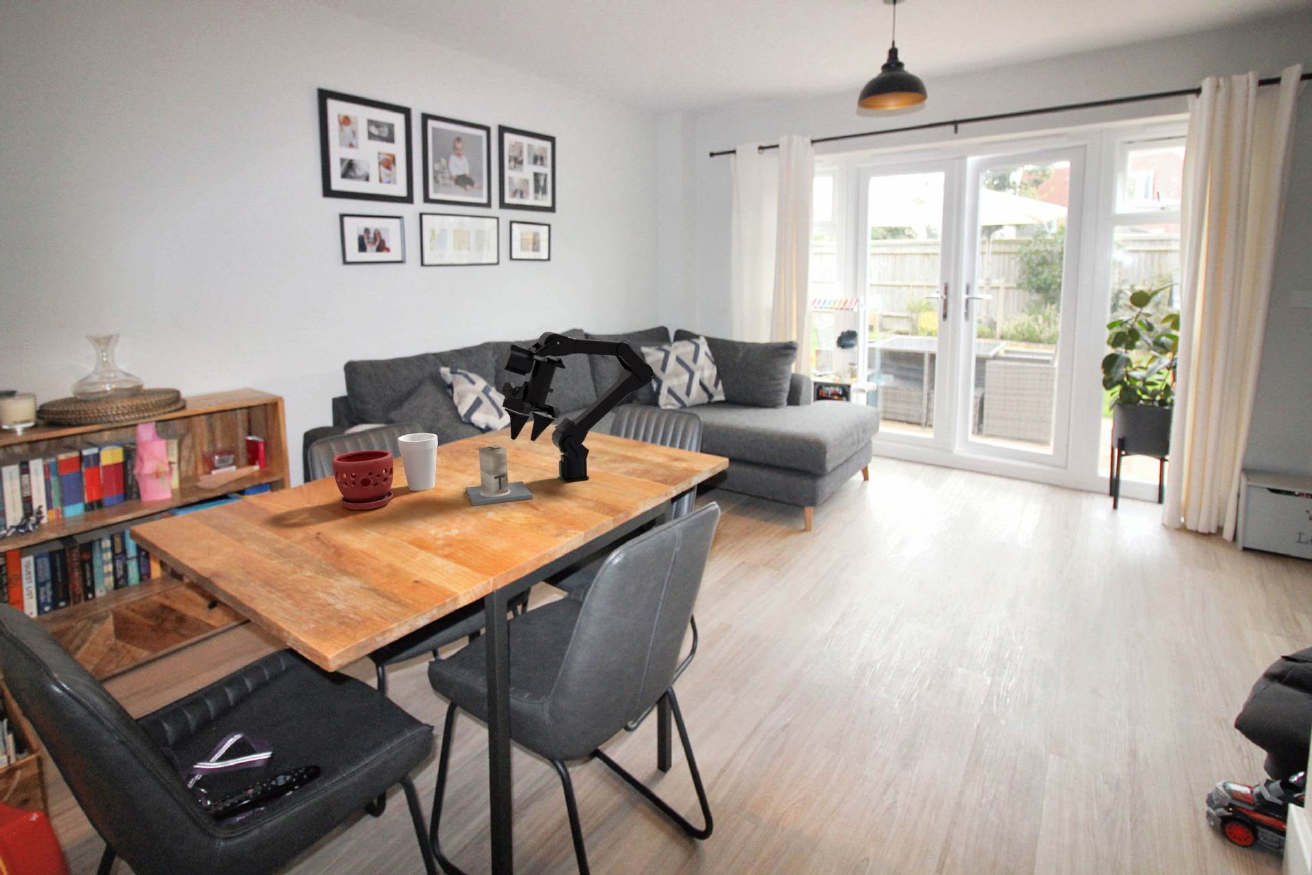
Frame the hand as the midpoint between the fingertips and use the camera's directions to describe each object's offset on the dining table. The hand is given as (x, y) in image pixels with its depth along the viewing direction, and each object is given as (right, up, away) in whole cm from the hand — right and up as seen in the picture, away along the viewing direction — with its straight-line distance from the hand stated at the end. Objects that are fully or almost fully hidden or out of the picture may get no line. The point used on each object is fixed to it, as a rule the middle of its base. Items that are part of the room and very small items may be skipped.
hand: (522, 440), depth 188 cm
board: (-5, -13, -6) cm, 15 cm away
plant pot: (-35, -15, -12) cm, 40 cm away
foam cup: (-26, -12, +1) cm, 29 cm away
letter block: (-5, -13, -7) cm, 16 cm away
